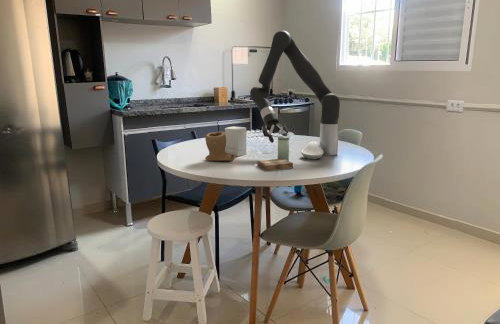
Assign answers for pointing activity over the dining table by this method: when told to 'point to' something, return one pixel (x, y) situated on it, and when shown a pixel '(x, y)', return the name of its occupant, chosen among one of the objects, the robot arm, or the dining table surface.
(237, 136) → the supplement box
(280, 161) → the dock
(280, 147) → the tea tin
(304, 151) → the spoon rest
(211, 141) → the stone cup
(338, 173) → the dining table surface
